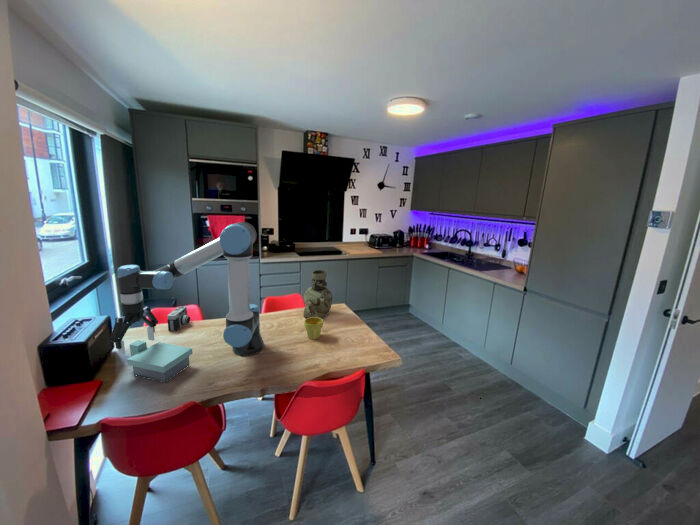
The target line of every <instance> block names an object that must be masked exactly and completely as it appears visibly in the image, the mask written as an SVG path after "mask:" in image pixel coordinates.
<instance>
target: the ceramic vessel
mask: <svg viewBox="0 0 700 525" xmlns="http://www.w3.org/2000/svg"><path fill="white" fill-rule="evenodd" d="M327 273H328V272H327V271H326V270H325V269H324V270H323V269H322V270H321V269H316V270H313V271H311V285H312V286H310V287H308V288H307V289H306V290H305V292H304V295H303V302H304V303H305V306H304V310H303V313H302V314H303V318H304V319H305V320H306V319H307V318H310V317H318V318H321V319H322V320H324V319H325V318H326V317H327V316H328V315H329V312H330V311H331V309H332V305H333V293H332V291H331V290H329V288H327V286H328V283H327V281H326V279H327Z"/></svg>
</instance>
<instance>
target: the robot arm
mask: <svg viewBox="0 0 700 525" xmlns="http://www.w3.org/2000/svg"><path fill="white" fill-rule="evenodd" d="M256 240H257V232H256V229H255V227H254V225H252V224H250V223H249V222H246V221H239V222H236V223H232V224H231V223H230V224H228V225H227V226H226V227H225V228H224V229H222V231H221V233H220V235H219V237H217V238H216V239H214V240H211V241H210V242H208V243H206V244H205V245H202V246H200V247H199V248H196V249H194V250H192V251H191V252H188V253H187V254H185V255H182V256H181V257H179V258H177V259H175V260H173V261H171V262H169V263H168V264H165V265H164V266H161V267H159V268H157V269H155V270H141V268H140V265H138V264H126V265H125V264H124V265H121V266H119V267H118V268H117V281H118V287H119V296H120V297H119V298H120V302H121V303H120V306H121V312H122V316H120V317H118V316H116V317H115V319H114V324H113V328H112V330H111V331H112V332H111V333H110V337H109V338H108V339H109V340H108V341H109V342H110V343H114V344H115V349H117V352H118V355H119V356H125V355H126V348H125V341H124V337H125V335H126V333H127V331H128V330H129V328H130V327H131V326H132V325H133V324H135V323H137V322H140V321H141V322H143V323H145V324H146V325H147V327H146V330H147V340H148V341H152V342H153V341H155V331H156V330H155V327H157V324H158V323H159V320H158V319H157V317H156V316H155V315H154V313H153V311H152V310H151V307H149V306H144V295H143V289H145V290H146V289H147V290H168V289H170V288H171V287H172V286H173V284H174V281H175V280H176V279H178V278H180V277H182V276H184V275H185V274H188V273H190V272H192V271H193V270H195V269H197V268H200V267H202V266H203V265H205V264H207V263H209V262H211V261H214V260H215V259H217V258H219V257H221V256H223V257H224V258H225V259H226V260H227V278H228V279H227V282H228V283H227V284H228V285H227V286H228V309H229V312H228V313H227V314H226V315H225V329H224V331H223V333H222V334H223V335H222V338H223V340H224V342H225V343H226V344H227V345H229V346H230V347H232V348H231V349H232V353H233V354H235V355H236V356H237V355H238V356H242V357H243V356H244V357H245V356H251V355H255V354H257V353H260V352H261V351H262V350H263V349H264V347H265V344H264V343H265V341H264V339H263V337H262V335H261V330H260V312H261V311H260V307H259V306H258V305H257V304H253V303H250V302H251V299H250V296H251V295H250V259H251V258H252V257H253V253H254V252H253V250H254V249H253V248H254V247H253V244H254V243H255V242H256ZM144 314H145V315H146V316H147V317H148V318H147V317H146V316H145V315H144Z"/></svg>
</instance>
